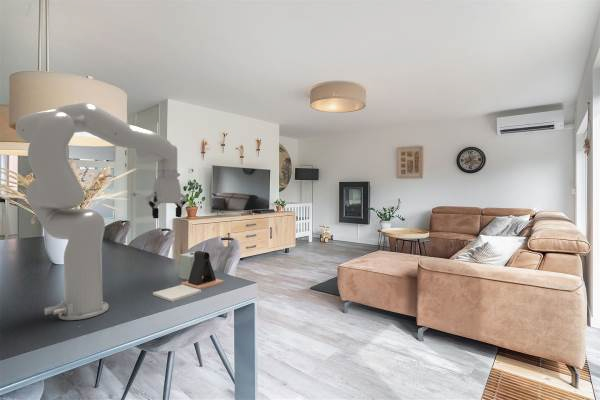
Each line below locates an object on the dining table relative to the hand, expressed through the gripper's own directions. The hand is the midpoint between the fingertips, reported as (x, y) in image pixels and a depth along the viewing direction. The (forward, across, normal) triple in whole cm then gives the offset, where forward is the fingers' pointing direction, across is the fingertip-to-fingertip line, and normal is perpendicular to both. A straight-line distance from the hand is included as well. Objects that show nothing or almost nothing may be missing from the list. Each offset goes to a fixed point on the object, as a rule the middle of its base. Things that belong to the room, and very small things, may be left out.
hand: (167, 217), depth 128 cm
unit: (+26, -10, +2) cm, 28 cm away
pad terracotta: (+26, -8, +13) cm, 30 cm away
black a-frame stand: (+26, -8, +12) cm, 30 cm away
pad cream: (+26, +5, +16) cm, 32 cm away
